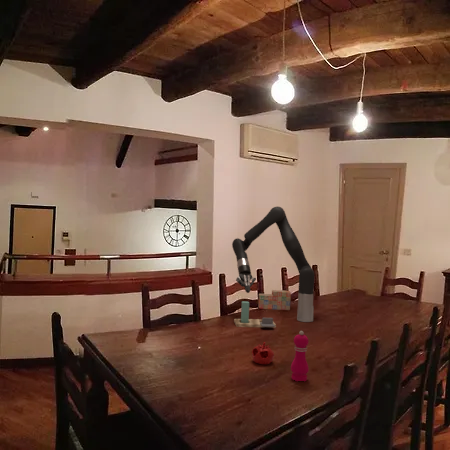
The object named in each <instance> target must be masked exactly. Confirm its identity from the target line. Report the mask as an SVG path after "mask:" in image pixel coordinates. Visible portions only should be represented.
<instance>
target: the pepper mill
mask: <svg viewBox="0 0 450 450" xmlns="http://www.w3.org/2000/svg"><path fill="white" fill-rule="evenodd" d="M309 343H310V342H309V338H308V337H307V335H305V333H304V331H303V330H300V331H299V334H296V335H295V336H294V337H293V344H294V350H295V353H294V358H293V360H292V362H291V364H290V371H291V372H292V373H291V380H292V381H294V380H295V381H294V382H298V381H304V382H306V381H308V375H307V374H308V373H309V364H308V361H307V359H306V353H307V350H308V344H309Z"/></svg>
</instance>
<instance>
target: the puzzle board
mask: <svg viewBox="0 0 450 450" xmlns="http://www.w3.org/2000/svg"><path fill="white" fill-rule="evenodd" d="M233 322H234V324H235V326H236V328H239V327H240V328H263V327H262V326H261V324H260V322H262V318H260V319H259V318H257V319H256V318H249V322H248V323H241V318H234V319H233ZM273 324H274V325H275V327H269V328H273V329H274V328H277V324H276V323H275V322H274V320H273Z"/></svg>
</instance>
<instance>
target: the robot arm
mask: <svg viewBox="0 0 450 450" xmlns="http://www.w3.org/2000/svg"><path fill="white" fill-rule="evenodd" d="M274 224H276V226H277V229H278V231H279V233H280V237H281V241H282V242H283V246H284V247H285V249H286V252H287V254H288V255H289V256H290V257H291V259H292V260H293V262H294V264H295V265H296V269H297V272H298V275H299V276H298V295H297V296H298V297H297V311H296V313H297V316H296V320H297V321H298V322H304V323H310V322H314V307H315V306H314V290H315V271H314V269H313V268H312V266H311V265H310V263H309V261H308V260H307V258H306V256H305V253H304V250H303V247H302V246H301V245H302V244H301V243H300V241H299V239H298V237H297V235H296V233H295V231H294V230H293V228H292V225H290V223H289V219H288V217H287V214H286V212H285V209H284V208H283V207H281V206H273V207H272V208H271V209H270V210H269V211H268V213H267V214H266V215H265V216H264V217H263V218H262V219H261V220H260V221H259V222H258V223H256V224H254V226H252V228H250V229H249V230H248V231H247V232H246V233H244V235H243V237H244V239H243V240H242V239H241V238H238V237H237V238H235V239H234V240H233V241H232V244H231V245H232V246H231V247H232V250H233V252H234V254H235V257H236V263H237V264H236V266H237V273H238V276H237V277H236V279H235V281H236V282H237V283H238V284H239V285H240V286H241V287H244V290H245V292H246V294H249V293H250V292H251V287H252V286H253V284H254V282H255V281H256V280H257V277H254V276H253V275H252V272H251V267H250V261H249V257H248V254H247V252H246V251H247V250H248V249H249V248H250V246H251V245H252V243H253V242H254V241H255V240H256V239H258V238H259V237H260V236H261V235H262V234H263V233H264V232H265V231H266V230H267V229H268V228H269V227H271V226H272V225H274Z"/></svg>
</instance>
